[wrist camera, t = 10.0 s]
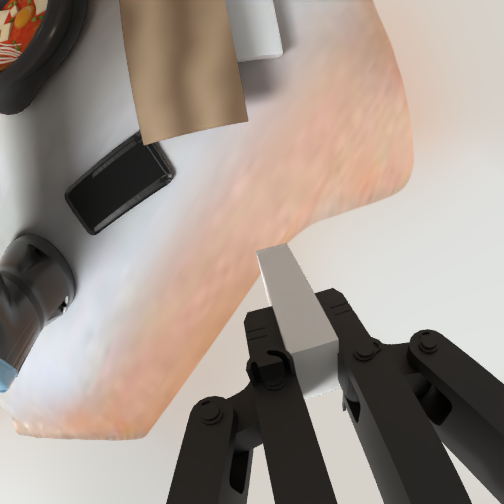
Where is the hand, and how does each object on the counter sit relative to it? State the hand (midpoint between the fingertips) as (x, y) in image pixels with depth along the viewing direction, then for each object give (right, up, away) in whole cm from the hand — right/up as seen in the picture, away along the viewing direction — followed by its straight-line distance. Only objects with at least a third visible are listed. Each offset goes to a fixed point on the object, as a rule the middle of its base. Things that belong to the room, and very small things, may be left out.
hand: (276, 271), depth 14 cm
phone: (-19, +10, +20) cm, 29 cm away
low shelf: (-10, +26, +12) cm, 30 cm away
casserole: (-32, +32, +7) cm, 45 cm away
